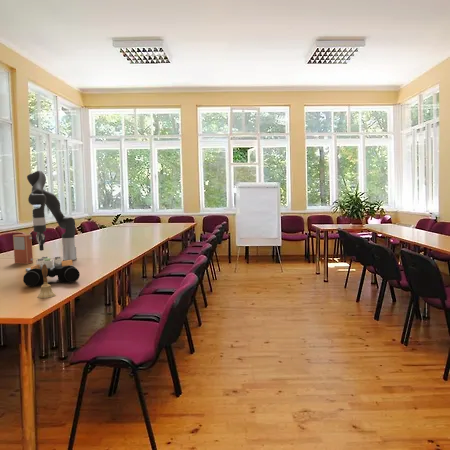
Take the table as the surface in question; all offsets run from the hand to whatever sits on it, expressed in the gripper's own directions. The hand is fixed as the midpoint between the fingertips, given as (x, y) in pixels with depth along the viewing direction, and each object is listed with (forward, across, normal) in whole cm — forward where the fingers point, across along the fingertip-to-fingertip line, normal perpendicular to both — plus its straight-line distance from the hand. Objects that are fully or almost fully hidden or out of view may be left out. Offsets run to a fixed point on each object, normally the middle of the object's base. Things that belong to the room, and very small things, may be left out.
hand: (41, 250), depth 268 cm
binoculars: (+14, -43, +8) cm, 46 cm away
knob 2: (+13, -1, -13) cm, 18 cm away
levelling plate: (+14, +2, -4) cm, 15 cm away
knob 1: (+12, -3, +4) cm, 13 cm away
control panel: (+15, +48, 0) cm, 50 cm away
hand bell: (+13, -73, +20) cm, 77 cm away
